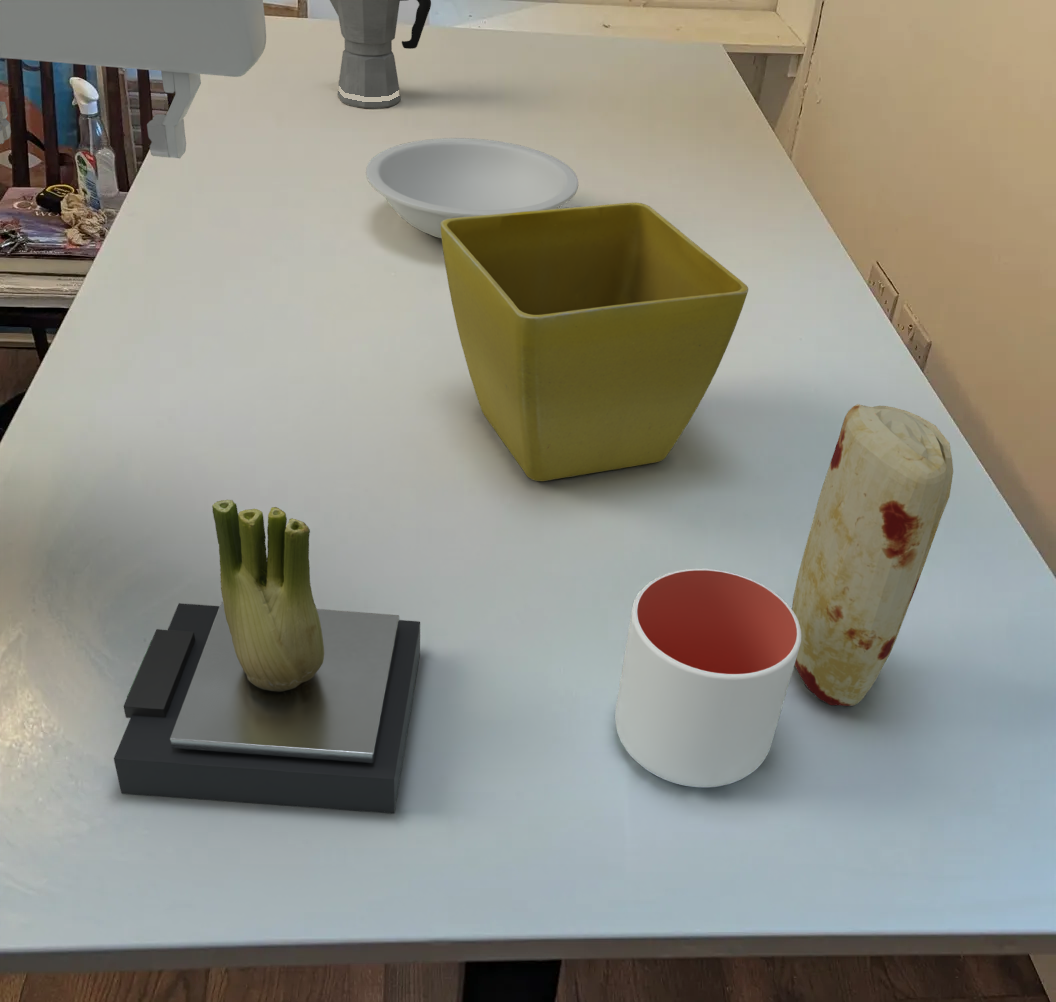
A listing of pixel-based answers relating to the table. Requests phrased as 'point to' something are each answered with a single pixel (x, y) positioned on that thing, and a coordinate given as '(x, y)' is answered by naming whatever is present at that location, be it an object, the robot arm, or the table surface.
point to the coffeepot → (372, 48)
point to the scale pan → (294, 696)
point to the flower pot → (587, 331)
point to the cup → (705, 676)
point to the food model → (868, 547)
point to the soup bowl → (467, 180)
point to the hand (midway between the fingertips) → (81, 147)
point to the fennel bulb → (268, 596)
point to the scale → (252, 776)
